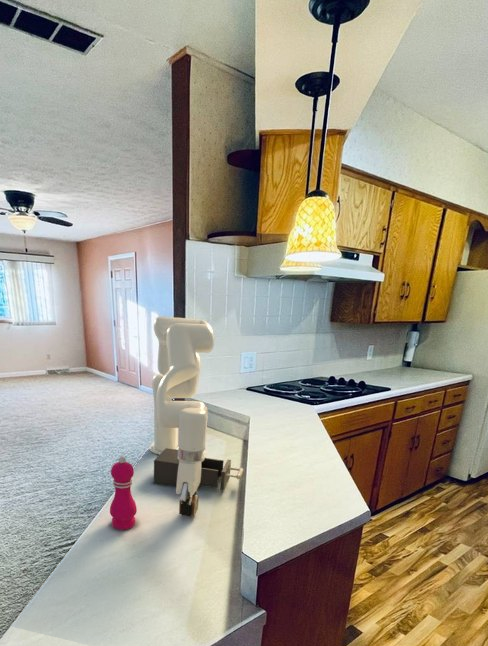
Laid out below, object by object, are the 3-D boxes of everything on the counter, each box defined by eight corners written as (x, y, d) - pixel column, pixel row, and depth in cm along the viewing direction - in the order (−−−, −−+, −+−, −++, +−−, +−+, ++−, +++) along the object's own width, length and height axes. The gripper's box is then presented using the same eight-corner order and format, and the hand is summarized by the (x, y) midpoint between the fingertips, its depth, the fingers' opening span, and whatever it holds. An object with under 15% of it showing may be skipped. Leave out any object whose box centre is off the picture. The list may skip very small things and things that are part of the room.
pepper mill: (131, 532, 110) (130, 463, 102) (105, 528, 111) (103, 460, 104) (140, 519, 117) (140, 454, 109) (116, 515, 118) (114, 450, 110)
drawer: (243, 479, 144) (245, 461, 142) (238, 493, 134) (239, 474, 131) (192, 472, 148) (193, 454, 145) (184, 485, 137) (184, 466, 135)
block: (183, 506, 122) (183, 493, 121) (197, 509, 121) (198, 495, 120) (178, 514, 118) (179, 500, 117) (193, 516, 117) (194, 502, 116)
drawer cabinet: (204, 475, 148) (205, 453, 145) (195, 490, 136) (196, 466, 133) (165, 470, 151) (166, 448, 147) (153, 483, 139) (153, 460, 136)
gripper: (186, 441, 121) (184, 496, 128) (168, 462, 106) (167, 523, 113) (211, 445, 120) (207, 500, 127) (196, 466, 104) (193, 528, 111)
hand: (188, 510), depth 120 cm, fingers closed on block, 4 cm apart
